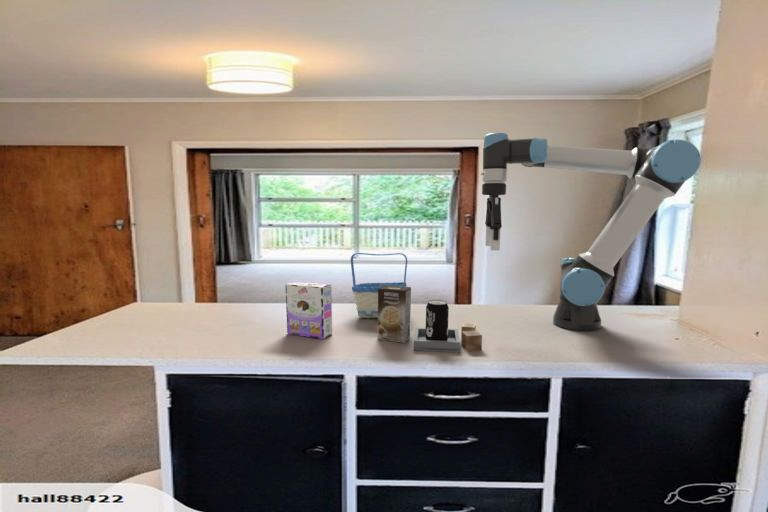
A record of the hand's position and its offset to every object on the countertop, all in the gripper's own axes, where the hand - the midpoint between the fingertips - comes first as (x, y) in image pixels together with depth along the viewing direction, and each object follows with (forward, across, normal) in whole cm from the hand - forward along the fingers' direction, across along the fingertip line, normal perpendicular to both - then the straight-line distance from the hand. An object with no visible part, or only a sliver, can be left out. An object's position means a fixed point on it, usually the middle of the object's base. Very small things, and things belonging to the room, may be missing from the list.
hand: (492, 248), depth 146 cm
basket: (+27, -10, -39) cm, 48 cm away
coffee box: (+27, +16, -31) cm, 44 cm away
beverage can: (+26, +20, -18) cm, 37 cm away
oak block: (+27, +12, -8) cm, 31 cm away
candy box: (+27, +15, -58) cm, 66 cm away
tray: (+27, +20, -18) cm, 38 cm away
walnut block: (+27, +22, -8) cm, 36 cm away
